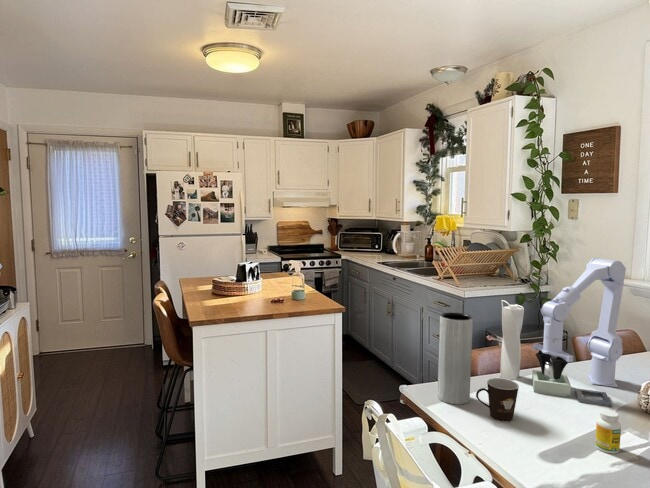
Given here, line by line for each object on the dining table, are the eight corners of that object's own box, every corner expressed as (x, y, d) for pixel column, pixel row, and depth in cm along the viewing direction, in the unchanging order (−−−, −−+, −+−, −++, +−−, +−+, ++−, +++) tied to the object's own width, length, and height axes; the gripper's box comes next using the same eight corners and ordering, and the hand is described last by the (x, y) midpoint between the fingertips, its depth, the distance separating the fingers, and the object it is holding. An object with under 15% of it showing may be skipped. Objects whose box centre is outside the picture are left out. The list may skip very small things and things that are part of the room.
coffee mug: (516, 412, 139) (517, 380, 138) (518, 425, 131) (519, 391, 130) (475, 406, 142) (476, 375, 142) (475, 418, 134) (476, 385, 134)
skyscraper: (495, 377, 167) (499, 301, 165) (499, 371, 174) (503, 298, 171) (518, 381, 163) (522, 304, 161) (522, 375, 170) (526, 300, 167)
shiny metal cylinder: (540, 381, 159) (541, 360, 158) (550, 380, 160) (551, 359, 159) (550, 386, 154) (552, 364, 154) (560, 384, 156) (562, 363, 155)
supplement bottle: (601, 441, 122) (603, 406, 121) (623, 450, 118) (626, 414, 117) (591, 447, 119) (593, 411, 118) (613, 456, 115) (615, 419, 114)
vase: (471, 395, 151) (474, 314, 149) (467, 407, 142) (470, 321, 140) (440, 390, 155) (443, 311, 153) (434, 401, 146) (437, 317, 144)
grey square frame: (574, 391, 155) (574, 388, 155) (605, 395, 152) (605, 392, 152) (578, 402, 147) (579, 398, 147) (611, 406, 144) (611, 403, 143)
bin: (532, 380, 164) (532, 370, 164) (565, 385, 160) (566, 374, 160) (533, 392, 154) (534, 380, 154) (570, 397, 150) (570, 385, 150)
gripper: (527, 332, 161) (525, 370, 162) (563, 344, 148) (561, 385, 149) (541, 330, 164) (539, 368, 165) (578, 342, 150) (576, 382, 152)
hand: (550, 376), depth 157 cm, fingers closed on shiny metal cylinder, 4 cm apart
